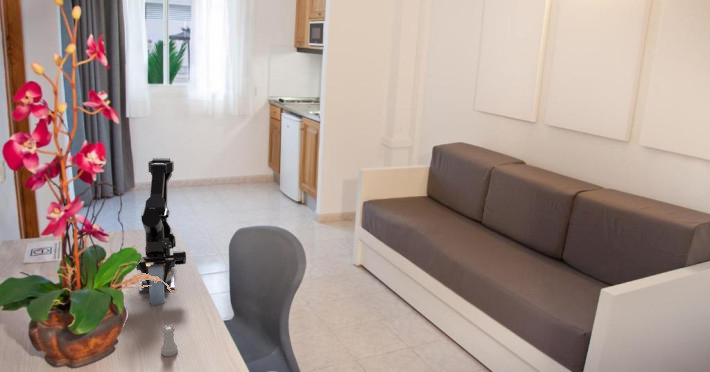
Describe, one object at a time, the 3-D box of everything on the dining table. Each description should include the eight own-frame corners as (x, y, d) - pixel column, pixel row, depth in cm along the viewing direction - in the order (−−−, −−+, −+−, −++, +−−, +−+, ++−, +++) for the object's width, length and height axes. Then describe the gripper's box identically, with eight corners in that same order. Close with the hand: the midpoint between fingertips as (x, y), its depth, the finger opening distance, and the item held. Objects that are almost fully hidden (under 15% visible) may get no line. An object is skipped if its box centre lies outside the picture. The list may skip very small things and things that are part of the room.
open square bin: (140, 278, 198) (139, 263, 197) (173, 275, 202) (172, 261, 200) (139, 293, 188) (138, 277, 187) (174, 289, 192) (173, 275, 190)
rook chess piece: (177, 356, 156) (176, 330, 154) (160, 357, 155) (158, 331, 153) (178, 347, 160) (177, 322, 158) (161, 348, 159) (160, 323, 157)
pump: (149, 298, 185) (148, 265, 182) (164, 297, 187) (163, 264, 183) (149, 308, 180) (148, 273, 176) (164, 306, 181) (163, 272, 177)
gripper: (122, 231, 178) (122, 279, 171) (185, 227, 184) (187, 273, 177) (124, 244, 187) (125, 290, 180) (184, 241, 193) (187, 285, 186)
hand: (156, 285), depth 181 cm, fingers closed on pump, 4 cm apart
